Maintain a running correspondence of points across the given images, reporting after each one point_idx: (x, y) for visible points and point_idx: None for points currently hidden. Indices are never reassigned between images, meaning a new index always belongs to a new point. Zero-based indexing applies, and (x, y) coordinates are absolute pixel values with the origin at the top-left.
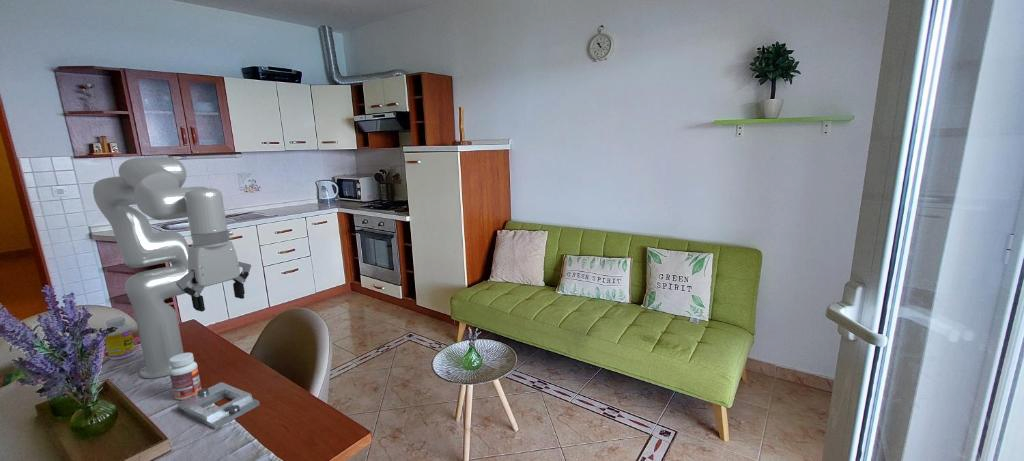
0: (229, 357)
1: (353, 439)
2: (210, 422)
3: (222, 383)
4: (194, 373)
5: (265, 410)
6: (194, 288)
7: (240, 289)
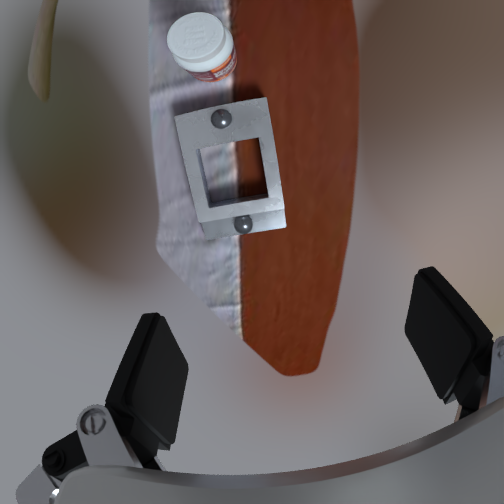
0: None
1: (306, 373)
2: (203, 227)
3: (265, 106)
4: (218, 69)
5: (283, 248)
6: (114, 463)
7: (430, 375)
